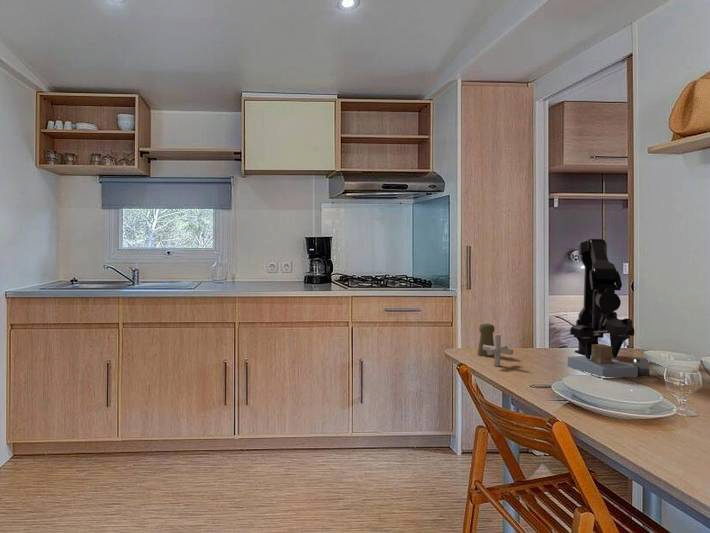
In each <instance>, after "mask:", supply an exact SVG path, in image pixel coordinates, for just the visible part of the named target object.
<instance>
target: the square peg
mask: <svg viewBox="0 0 710 533" xmlns="http://www.w3.org/2000/svg"><path fill="white" fill-rule="evenodd" d="M591 356H592V357H591V361H592V362H595V363H598V364H612V359H613V357H612V346H611V345H608V344H604V343H598V344H595V345H592V355H591Z"/></svg>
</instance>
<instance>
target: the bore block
mask: <svg viewBox="0 0 710 533" xmlns="http://www.w3.org/2000/svg"><path fill="white" fill-rule="evenodd" d="M591 357H592V355H591ZM591 357H590V359H587V358H586V356H585V355H577V356H575V355H573V356H567V367H568V368H572V369H574V368H575V369H574V370H577V369H578V371H579V370H581V371H580V372H582V371H585V372H588V373H591V374H595V375H598V376H605V377H629V378H638V377H639V376H638V367H636V366H633V364H629V363H627V362H623V361H619V360H617V359H615V358H614V359H613V358H612V364H598V363H595V362H592V361H591ZM585 372H584V373H585ZM637 376H638V377H637Z"/></svg>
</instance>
